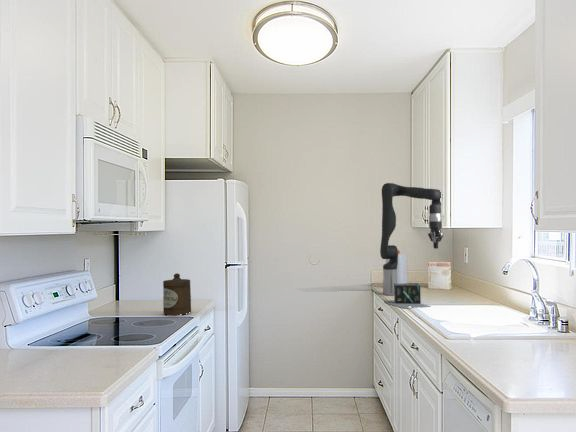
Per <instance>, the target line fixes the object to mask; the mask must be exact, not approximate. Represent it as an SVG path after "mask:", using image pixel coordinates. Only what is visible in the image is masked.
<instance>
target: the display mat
mask: <svg viewBox="0 0 576 432" xmlns="http://www.w3.org/2000/svg"><path fill="white" fill-rule="evenodd" d="M383 303H384V304H387V305H390V306H394V307H396V308H399V309H403V310H404V309H409V308H408V307H409V306H411V307H420V308H430V307H432V306H431V305H428V304H424V303H422V302H421V303H420V304H406V303H396V302H395V301H385V302H383Z"/></svg>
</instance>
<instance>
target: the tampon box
mask: <svg viewBox="0 0 576 432" xmlns="http://www.w3.org/2000/svg"><path fill="white" fill-rule="evenodd" d="M393 296H394V302H396V303H406V304H420V303H421V304H422V302H421V301H422V300H421V285H420V284H419V283H417V282H415V283H414V282H413V283H412V282H411V283H409V282H408V283H403V284H395V283H394V295H393Z"/></svg>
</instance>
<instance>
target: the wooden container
mask: <svg viewBox="0 0 576 432" xmlns="http://www.w3.org/2000/svg"><path fill="white" fill-rule="evenodd" d="M180 276H181V274H179V273H174V274H173V278H172V279H167V280H163V281H162V287H163V289H162V291H163V297H162V301H163V302H162V304H163V305H162V306H163V310H162V311H163V315H164V314H167V315H180V314H186V313H189V312H191V313H192V293H191V279H185V278H181V277H180ZM167 315H166V316H167Z"/></svg>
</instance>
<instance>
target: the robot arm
mask: <svg viewBox="0 0 576 432" xmlns="http://www.w3.org/2000/svg"><path fill="white" fill-rule="evenodd" d="M440 191H441V190H440V189H437V188H426V187H417V186H416V187H415V186H403V185H399V184H396V183H393V182H387V183H386V182H385V183H383V185H382V187H381V202H382V203H381V204H382V205H381V206H382V209H381V210H382V212H381V216H382V217H381V239H380V248H379V254H380V257H381V258H382V260H386V259H390V260H389V262H388V263H386V262H385V263H384V264H383V265H382V268H383V269H382V273H383V274H382V279H383V280H382V294H383V295H384V296H394V283H395V284H397V265H398V250H399V249H398V247H397V246H396V245H395V244H391V245H390V244H389V241H390V238H391V236H392V234H393V232H394V231H395V230H396V226H397V216H396V215H397V214H396V212H395V209H394V205H393V204H394V203H393V197H401V196H402V197H403V196H404V197H409V198H413V199H421V200H423V199H424V200H430V201H431V204H430V205H429V208H428V209H429V211H428V212H429V213H428V214H429V215H428V226H429V229H430V232H428V233H427V235H428V238H429V240H430V242H431V243H433V245H432V246H433V249H435V250H436V249H439V243H440V242H441V241H442V239H443V238H444V233H442V231H441V229H442V227H443V223H442V220H443V219H442V218H441V217H442V204H441V202H440V198H441V192H442V191H441V192H440Z"/></svg>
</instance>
